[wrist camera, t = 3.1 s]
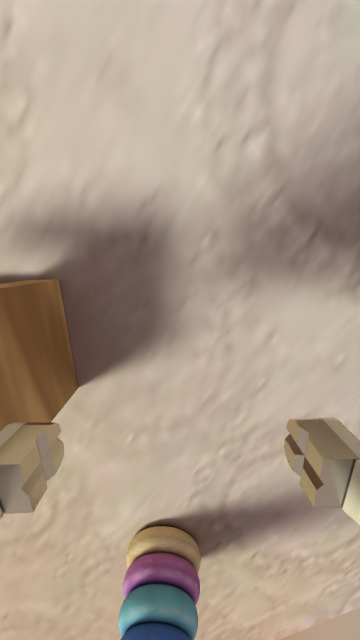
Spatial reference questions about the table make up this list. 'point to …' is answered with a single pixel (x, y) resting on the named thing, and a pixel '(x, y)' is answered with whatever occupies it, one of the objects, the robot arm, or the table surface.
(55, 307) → the stool
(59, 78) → the table surface
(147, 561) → the stacking toy
